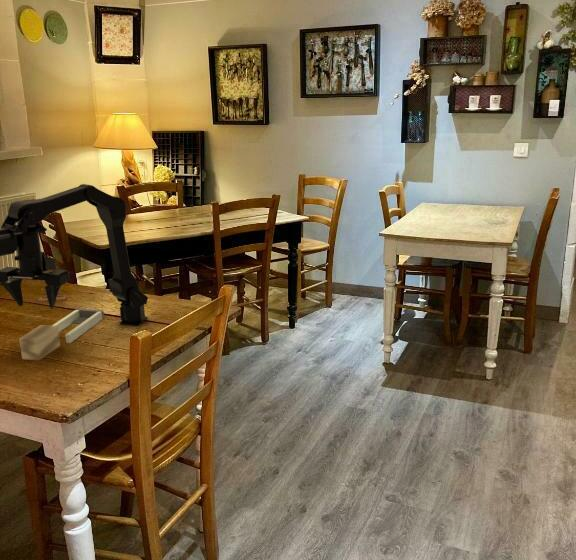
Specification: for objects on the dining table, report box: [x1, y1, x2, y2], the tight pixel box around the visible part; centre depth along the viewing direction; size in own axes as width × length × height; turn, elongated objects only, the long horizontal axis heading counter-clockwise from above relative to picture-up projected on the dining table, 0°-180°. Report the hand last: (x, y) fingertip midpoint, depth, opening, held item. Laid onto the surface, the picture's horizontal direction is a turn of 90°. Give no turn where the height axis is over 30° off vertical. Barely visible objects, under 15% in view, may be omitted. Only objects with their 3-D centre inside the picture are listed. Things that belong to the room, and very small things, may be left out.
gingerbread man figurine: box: [37, 269, 68, 304], centre depth 199 cm, size 9×4×12 cm, turn 104°
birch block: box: [18, 324, 61, 361], centre depth 159 cm, size 5×10×6 cm, turn 169°
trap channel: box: [51, 308, 105, 344], centre depth 176 cm, size 9×20×2 cm, turn 170°
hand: (36, 306), depth 157 cm, fingers open, 9 cm apart
